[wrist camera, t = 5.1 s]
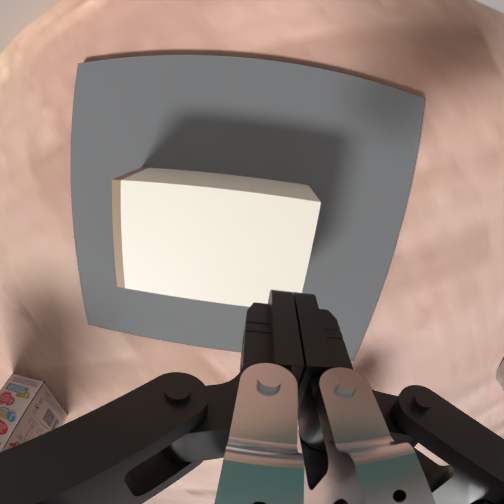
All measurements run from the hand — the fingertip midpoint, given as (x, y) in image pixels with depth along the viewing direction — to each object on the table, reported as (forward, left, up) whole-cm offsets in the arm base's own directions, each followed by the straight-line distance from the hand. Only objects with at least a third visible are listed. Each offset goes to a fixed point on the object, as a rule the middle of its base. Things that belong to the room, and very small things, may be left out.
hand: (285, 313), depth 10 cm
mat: (+3, 0, -9) cm, 10 cm away
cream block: (-1, 0, -7) cm, 7 cm away
